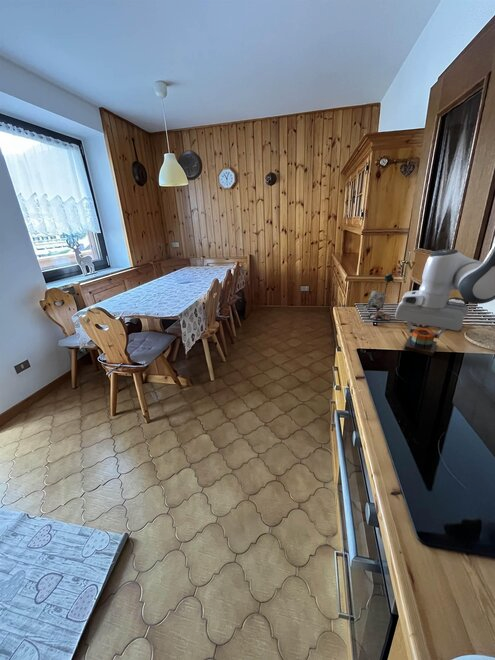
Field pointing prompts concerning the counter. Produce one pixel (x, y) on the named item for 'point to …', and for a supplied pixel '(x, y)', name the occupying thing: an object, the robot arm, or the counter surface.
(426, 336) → the orange ring
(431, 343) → the sage ring
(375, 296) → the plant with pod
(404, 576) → the counter surface
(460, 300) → the medicine bottle
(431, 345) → the charcoal ring
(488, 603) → the counter surface
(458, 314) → the robot arm
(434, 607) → the counter surface
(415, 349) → the spindle
